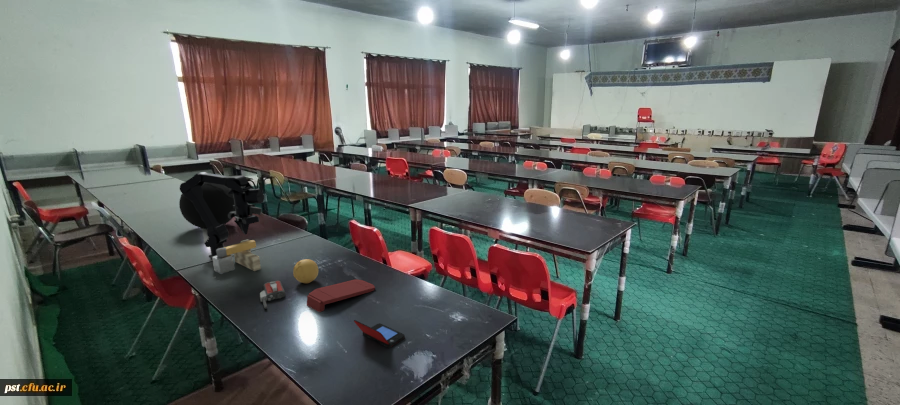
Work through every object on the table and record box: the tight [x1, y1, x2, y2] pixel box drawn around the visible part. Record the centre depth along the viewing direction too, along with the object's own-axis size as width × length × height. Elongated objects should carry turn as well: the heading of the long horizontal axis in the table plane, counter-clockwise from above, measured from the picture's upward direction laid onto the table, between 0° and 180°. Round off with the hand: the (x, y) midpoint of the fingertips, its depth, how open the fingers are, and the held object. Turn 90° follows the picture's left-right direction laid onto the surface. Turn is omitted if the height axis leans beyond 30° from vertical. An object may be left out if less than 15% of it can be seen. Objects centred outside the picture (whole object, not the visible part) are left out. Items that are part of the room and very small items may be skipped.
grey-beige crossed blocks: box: [233, 238, 262, 272], centre depth 182 cm, size 18×6×10 cm, turn 53°
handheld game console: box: [353, 319, 406, 349], centre depth 124 cm, size 12×11×7 cm
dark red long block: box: [306, 278, 376, 313], centre depth 153 cm, size 12×5×25 cm
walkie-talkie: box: [259, 279, 286, 309], centre depth 152 cm, size 9×4×20 cm
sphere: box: [178, 182, 235, 230], centre depth 234 cm, size 30×30×30 cm
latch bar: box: [216, 239, 257, 257], centre depth 180 cm, size 16×4×3 cm, turn 141°
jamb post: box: [211, 254, 236, 275], centre depth 176 cm, size 6×6×7 cm
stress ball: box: [292, 258, 319, 284], centre depth 163 cm, size 10×10×10 cm
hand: (245, 234), depth 188 cm, fingers closed
